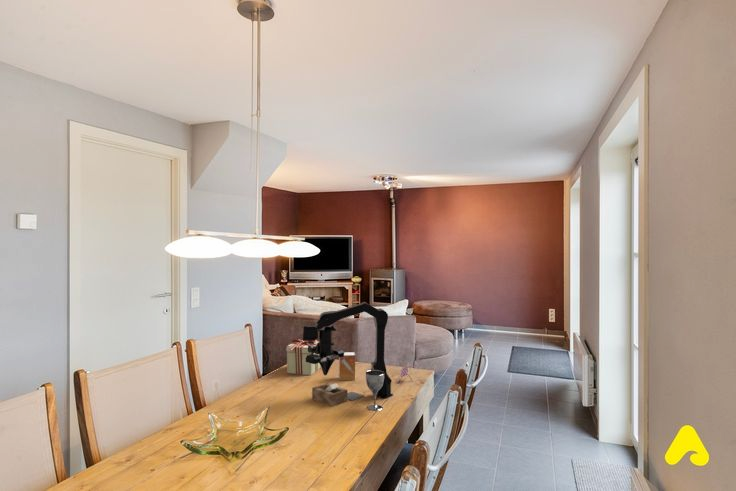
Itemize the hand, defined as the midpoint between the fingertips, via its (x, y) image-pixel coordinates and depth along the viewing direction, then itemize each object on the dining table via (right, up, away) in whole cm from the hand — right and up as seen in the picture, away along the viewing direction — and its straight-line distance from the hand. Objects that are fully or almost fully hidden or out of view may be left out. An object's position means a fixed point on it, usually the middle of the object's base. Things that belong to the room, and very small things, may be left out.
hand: (325, 375), depth 191 cm
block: (+2, -7, -2) cm, 8 cm away
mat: (+12, -11, +3) cm, 16 cm away
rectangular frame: (+2, -11, -2) cm, 11 cm away
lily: (+38, -11, +26) cm, 47 cm away
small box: (+8, -11, +29) cm, 32 cm away
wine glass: (+22, -11, -11) cm, 27 cm away
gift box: (-16, -11, +41) cm, 45 cm away
